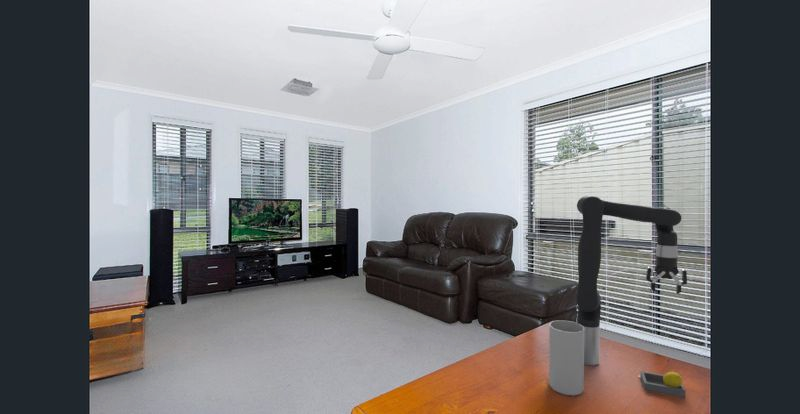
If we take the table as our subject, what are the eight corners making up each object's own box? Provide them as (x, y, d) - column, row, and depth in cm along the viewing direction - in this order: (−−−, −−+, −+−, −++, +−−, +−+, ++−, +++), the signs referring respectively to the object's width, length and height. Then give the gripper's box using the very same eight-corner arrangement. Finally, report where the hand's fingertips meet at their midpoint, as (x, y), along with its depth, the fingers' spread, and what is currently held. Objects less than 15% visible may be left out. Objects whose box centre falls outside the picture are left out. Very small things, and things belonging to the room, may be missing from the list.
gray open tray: (644, 390, 145) (644, 382, 145) (640, 378, 154) (640, 371, 154) (685, 398, 139) (685, 390, 139) (678, 385, 148) (679, 377, 148)
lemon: (675, 394, 143) (687, 385, 138) (659, 388, 145) (671, 379, 140) (673, 381, 147) (685, 372, 142) (658, 375, 149) (669, 366, 143)
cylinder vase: (568, 400, 139) (569, 334, 138) (542, 384, 150) (542, 323, 149) (590, 391, 145) (591, 328, 143) (563, 376, 156) (563, 318, 155)
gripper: (648, 255, 160) (647, 292, 161) (689, 258, 154) (688, 296, 155) (645, 252, 167) (644, 288, 168) (684, 254, 160) (683, 291, 161)
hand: (665, 292), depth 161 cm, fingers open, 8 cm apart
